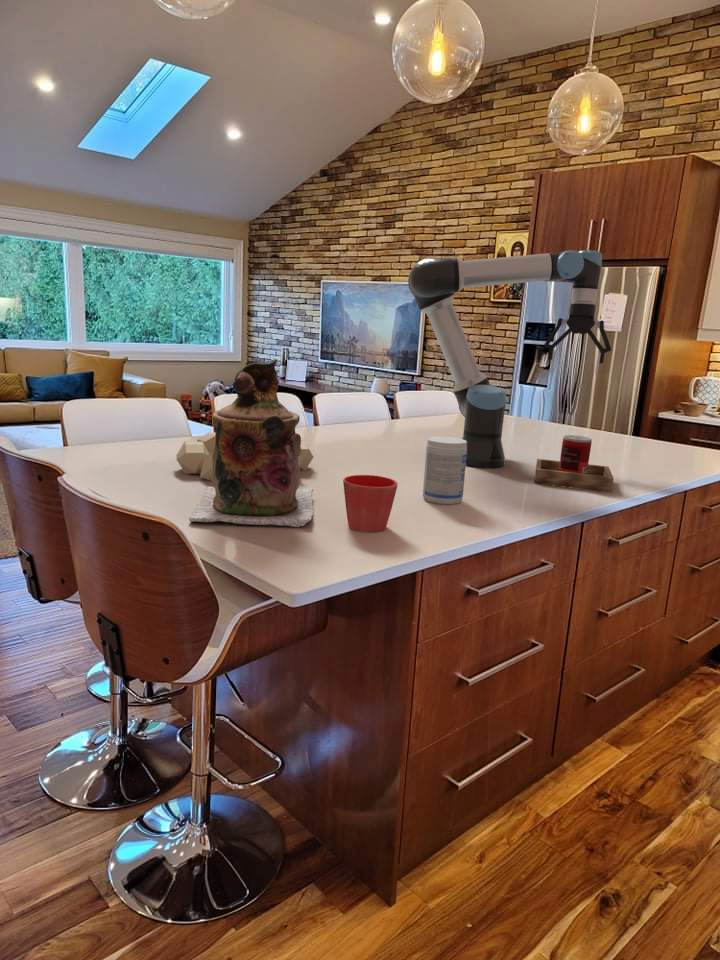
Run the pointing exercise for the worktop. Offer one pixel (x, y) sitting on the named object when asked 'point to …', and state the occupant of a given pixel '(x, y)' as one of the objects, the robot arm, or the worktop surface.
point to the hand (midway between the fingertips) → (573, 372)
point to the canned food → (575, 454)
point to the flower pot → (368, 501)
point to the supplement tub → (444, 470)
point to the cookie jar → (256, 458)
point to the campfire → (200, 454)
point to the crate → (574, 476)
